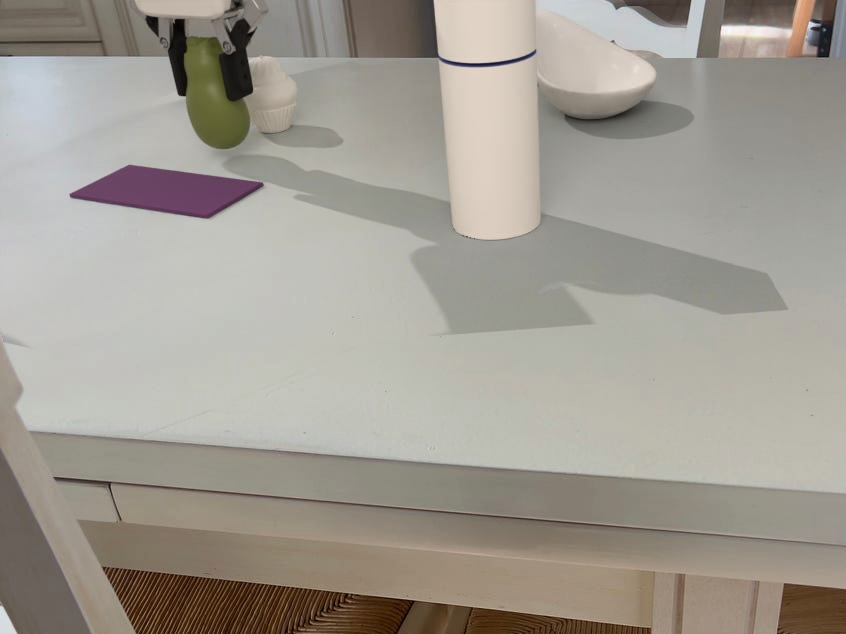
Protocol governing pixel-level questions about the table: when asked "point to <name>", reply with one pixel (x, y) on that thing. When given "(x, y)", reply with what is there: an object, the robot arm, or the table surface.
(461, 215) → the cylindrical container
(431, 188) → the table surface
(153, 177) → the cloth
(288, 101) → the muffin
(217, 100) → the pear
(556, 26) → the spoon rest
